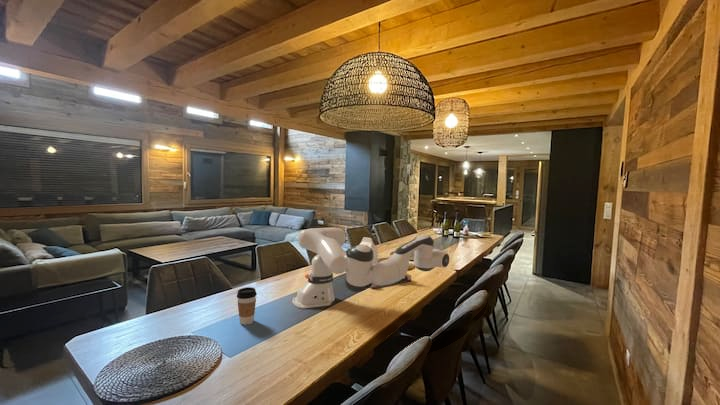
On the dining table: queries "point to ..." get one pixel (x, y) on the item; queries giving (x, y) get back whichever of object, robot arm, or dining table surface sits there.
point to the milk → (370, 244)
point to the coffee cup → (246, 305)
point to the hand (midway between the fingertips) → (408, 248)
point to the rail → (406, 279)
